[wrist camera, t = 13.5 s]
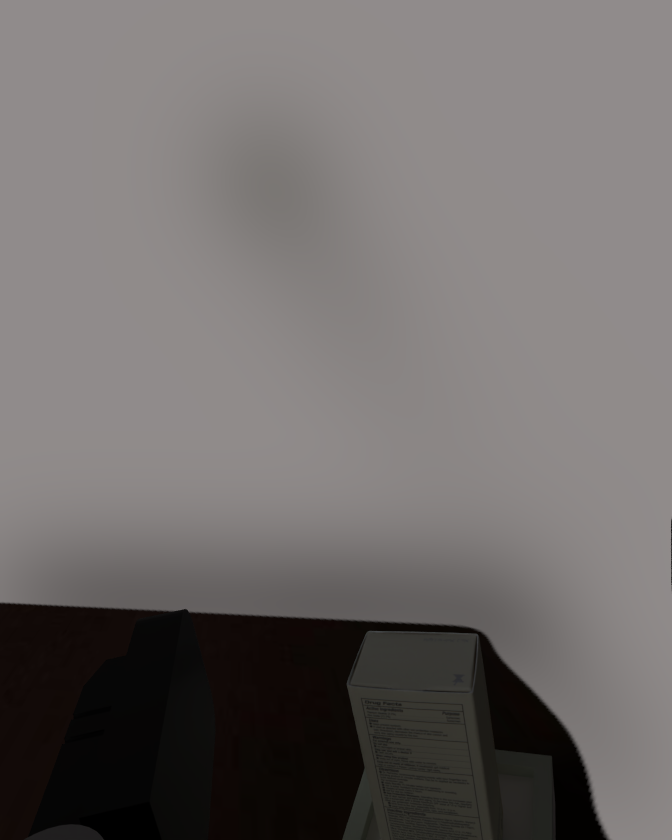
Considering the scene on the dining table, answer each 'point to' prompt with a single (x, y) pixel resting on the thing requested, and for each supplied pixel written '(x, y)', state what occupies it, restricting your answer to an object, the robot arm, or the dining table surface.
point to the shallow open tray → (520, 793)
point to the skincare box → (427, 736)
